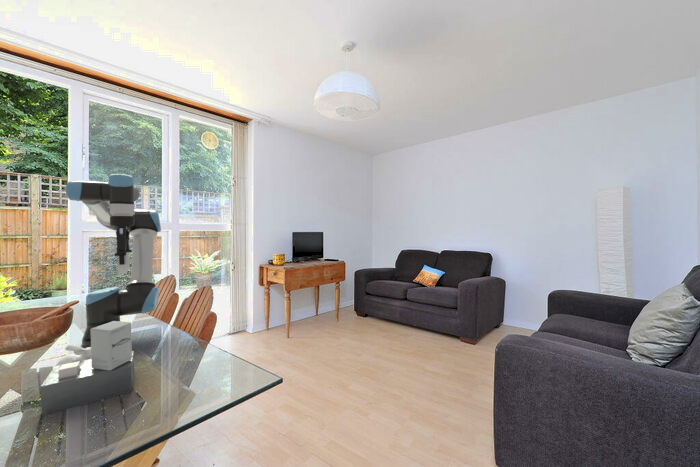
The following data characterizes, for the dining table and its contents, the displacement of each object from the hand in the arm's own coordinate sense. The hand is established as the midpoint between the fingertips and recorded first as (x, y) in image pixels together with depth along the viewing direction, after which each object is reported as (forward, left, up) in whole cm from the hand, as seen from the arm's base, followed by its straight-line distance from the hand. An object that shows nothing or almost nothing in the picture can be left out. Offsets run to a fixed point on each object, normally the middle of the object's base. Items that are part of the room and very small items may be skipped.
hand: (124, 271), depth 113 cm
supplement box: (+23, -2, -27) cm, 35 cm away
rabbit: (+6, -13, -35) cm, 38 cm away
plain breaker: (+23, -12, -29) cm, 39 cm away
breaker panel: (+21, -7, -35) cm, 41 cm away
